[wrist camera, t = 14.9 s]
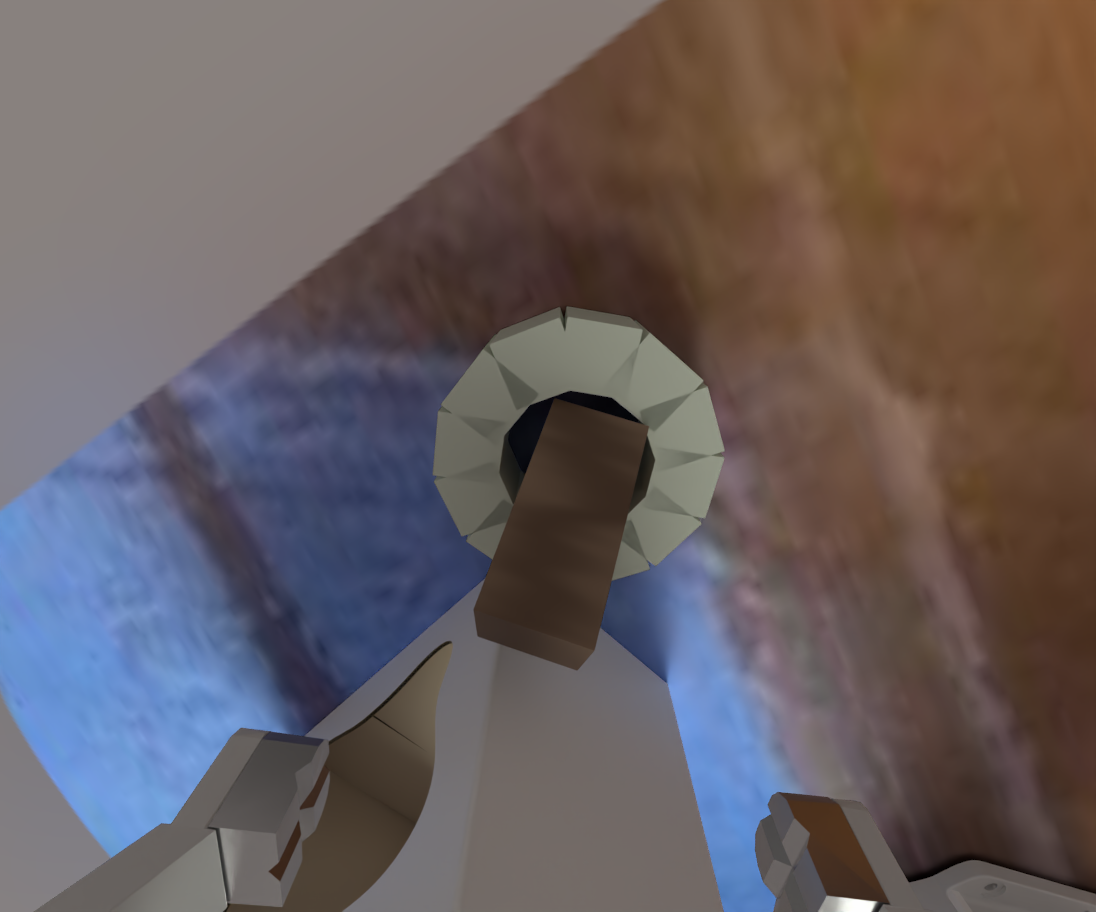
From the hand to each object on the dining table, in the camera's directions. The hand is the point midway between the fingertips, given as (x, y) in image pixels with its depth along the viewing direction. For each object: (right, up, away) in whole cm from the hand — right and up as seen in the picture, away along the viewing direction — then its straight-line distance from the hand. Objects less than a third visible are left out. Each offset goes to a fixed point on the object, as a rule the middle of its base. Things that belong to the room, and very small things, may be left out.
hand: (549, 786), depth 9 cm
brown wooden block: (+2, +7, +13) cm, 15 cm away
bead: (+1, +7, +16) cm, 17 cm away
